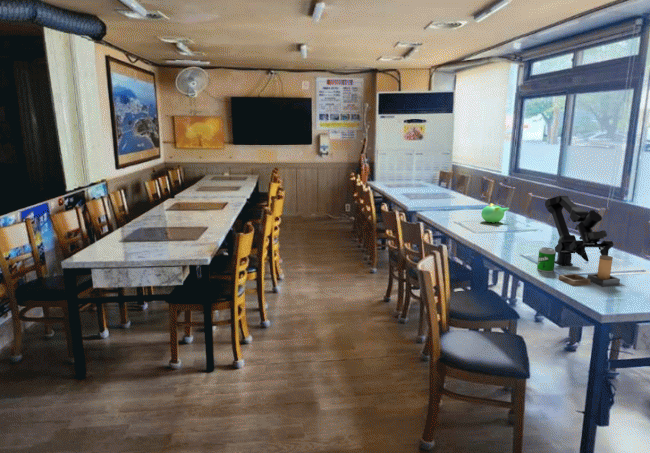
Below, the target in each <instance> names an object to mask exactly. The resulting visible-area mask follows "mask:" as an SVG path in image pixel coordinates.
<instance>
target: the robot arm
mask: <svg viewBox="0 0 650 453" xmlns="http://www.w3.org/2000/svg"><path fill="white" fill-rule="evenodd" d="M544 206H545V209H546V210H547V211H548V212H549V213H550V214H551V215H552V218H553V221H554V225H555V227H556V229H557V233H558V236H559V238H558V240H557V244H556V246H555V247H554V250H555V251H556V254H557V256H556V257H557V258H556V260H555V263H556V264H558V265H561V266H573V265H574V264H573V263H572V259H573V258H572V257H573V256H572V255H573V254H577V255H578V256H579V257H580V258H582V259H583V260H584V261H585V262H589V256H588V254H587V252H586V248H597V249H598V250H599V253H600V255H607V256H609V250H610V249H612V248H613V247H614V246H615V244H614V241H613V240H602V239H605V238H607V237H608V234H607V231H606V230H604V229H603V230H600V231H594V230H593V228H595V227H596V226H597V225H598V224H599V223H600V222H601V221H602V220H603V217H602V215H601V214H600V213H598V212H596V211H595V210H592V209H591V210H589V212H588V211H587V210H585V209H583V208H580V207H578V206H577V204H575V202H573V201H572V200H571V199H570V198H569V196H568V195H557V196H555V197H554V196H553V197H551V198H550V197H549V198H547V199H546V200H545V202H544ZM563 209H564V210H566V211H567V213H568V214H569V218H570V220H571V221H572V223H578V224H576V225H575V228H574V230H576V231H578V232H579V235H580V236H579V240H577V239H576V238H577V237H576V235H574V234H571V233H570V231H569V229H568V225H567V223H566V220H565V217H564V213H563ZM601 240H602V242H600V241H601ZM599 242H600V243H599Z"/></svg>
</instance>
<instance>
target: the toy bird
mask: <svg viewBox="0 0 650 453" xmlns="http://www.w3.org/2000/svg"><path fill="white" fill-rule="evenodd" d="M509 210H510V207H501V206H500V205H498V204H494V203H492V202H490V204H489V205H486V206H485V207H484V208H482V210H481V218H482V219H483V221H485V222H487V223H490V222H492V223H493V224H494V223H495V222H496V223H499V222H501V221H502V220H503V218H504V217H505V212H507V211H509ZM492 223H491V224H492ZM496 223H495V224H496Z"/></svg>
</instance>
